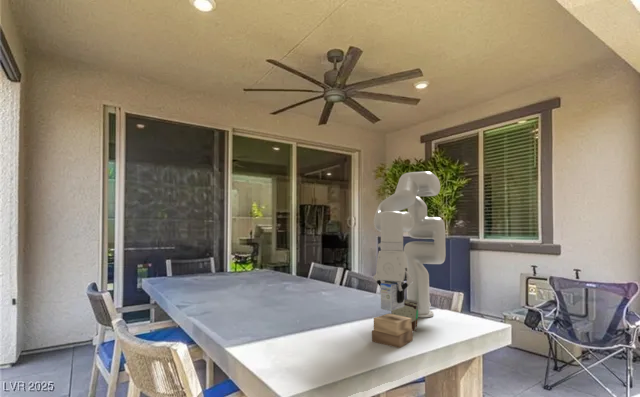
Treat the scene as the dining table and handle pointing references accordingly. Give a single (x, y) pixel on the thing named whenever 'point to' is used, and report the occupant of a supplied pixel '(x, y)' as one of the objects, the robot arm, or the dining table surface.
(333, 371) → the dining table surface
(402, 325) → the tower top block
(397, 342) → the tower base block
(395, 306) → the medicine box
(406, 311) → the food container
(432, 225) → the robot arm
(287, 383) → the dining table surface
